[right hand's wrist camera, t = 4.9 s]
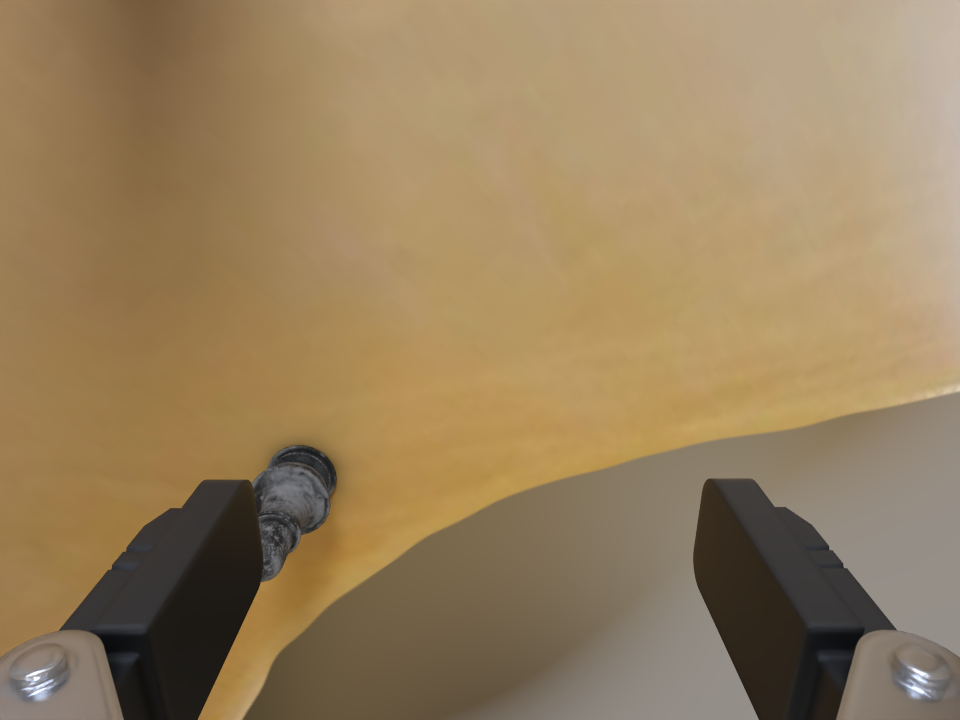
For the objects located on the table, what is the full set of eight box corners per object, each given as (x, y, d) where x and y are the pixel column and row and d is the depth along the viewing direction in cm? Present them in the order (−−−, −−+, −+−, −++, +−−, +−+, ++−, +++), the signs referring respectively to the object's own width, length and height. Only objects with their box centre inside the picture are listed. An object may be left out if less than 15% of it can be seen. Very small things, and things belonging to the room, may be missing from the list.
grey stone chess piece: (355, 481, 50) (319, 588, 39) (300, 520, 51) (250, 635, 40) (303, 427, 48) (249, 523, 37) (247, 469, 49) (179, 574, 38)
